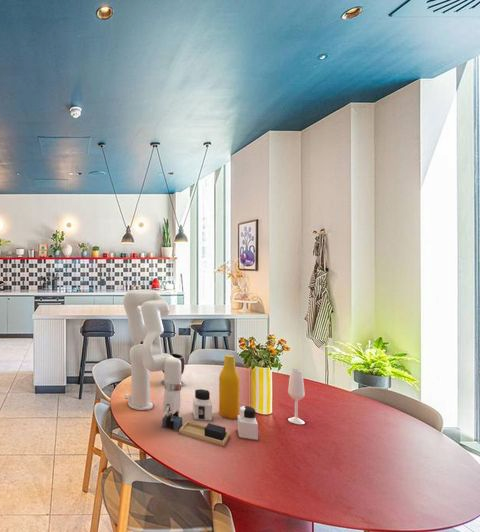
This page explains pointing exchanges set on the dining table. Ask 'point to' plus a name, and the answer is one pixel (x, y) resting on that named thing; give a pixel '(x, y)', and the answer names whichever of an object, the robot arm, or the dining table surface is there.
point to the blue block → (174, 422)
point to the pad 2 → (215, 431)
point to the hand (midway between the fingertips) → (172, 425)
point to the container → (202, 405)
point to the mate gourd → (181, 363)
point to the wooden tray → (200, 432)
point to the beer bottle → (229, 389)
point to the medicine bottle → (247, 423)
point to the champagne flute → (296, 392)
